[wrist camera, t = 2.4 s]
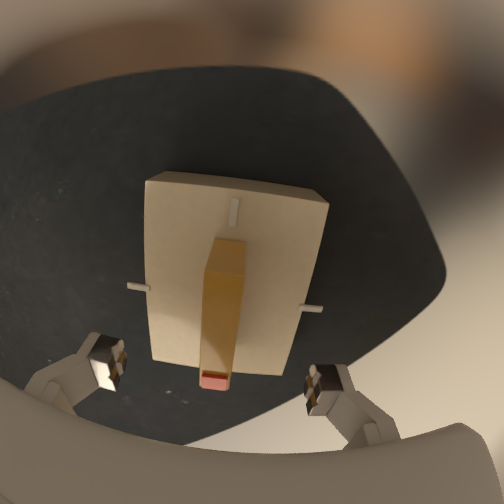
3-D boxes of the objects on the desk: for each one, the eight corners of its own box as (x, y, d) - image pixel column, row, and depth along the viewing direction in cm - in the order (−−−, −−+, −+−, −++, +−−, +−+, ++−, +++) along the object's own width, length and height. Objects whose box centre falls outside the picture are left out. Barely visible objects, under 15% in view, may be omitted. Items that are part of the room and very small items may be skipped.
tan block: (148, 169, 15) (123, 179, 12) (330, 193, 16) (351, 208, 13) (151, 326, 20) (137, 358, 17) (291, 343, 21) (297, 377, 18)
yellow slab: (214, 237, 13) (202, 273, 10) (246, 241, 14) (246, 279, 10) (206, 343, 16) (198, 389, 13) (231, 346, 16) (228, 393, 13)
